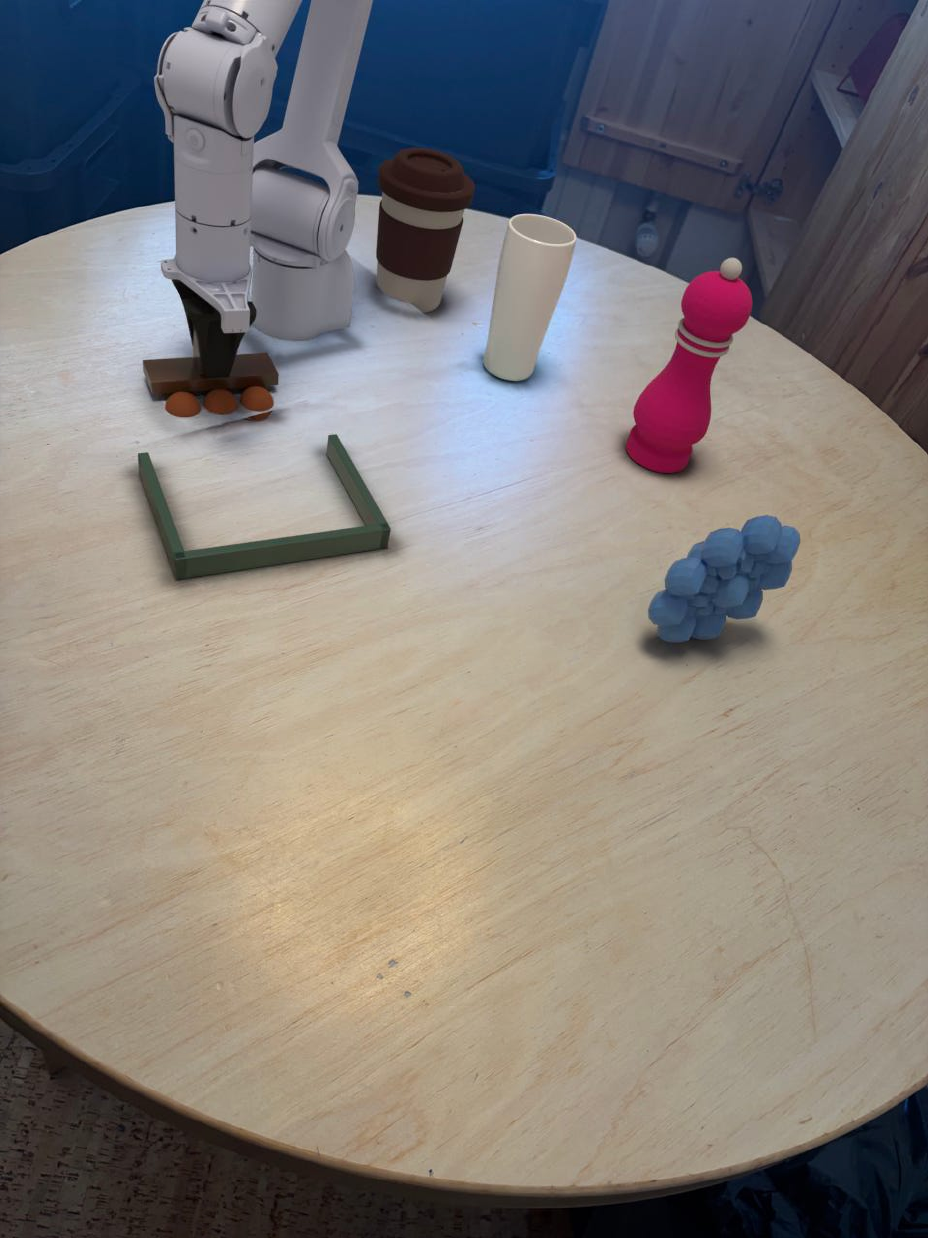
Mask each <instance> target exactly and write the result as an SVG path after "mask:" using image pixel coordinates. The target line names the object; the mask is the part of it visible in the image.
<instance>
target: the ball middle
mask: <svg viewBox="0 0 928 1238" xmlns="http://www.w3.org/2000/svg"><path fill="white" fill-rule="evenodd" d="M202 406H203V408H204V409H205V411H207V412H209V413H211V414H214V415H221V416H222V415H223V416H224V415H229V414H233V413H235V412H236V411H237V410H238V408H239V402H238V400H237V398H236V397H235V394H232V393H231V392H229V391H227V390H224V389H215V390H212V391H210V392H209V393H208V394H207V395H206V396H204V398H203V401H202ZM231 421H232V420H231ZM231 421H226V422H222V423H221V425H225V424H228V423H230V422H231Z"/></svg>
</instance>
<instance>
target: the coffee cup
mask: <svg viewBox="0 0 928 1238" xmlns="http://www.w3.org/2000/svg"><path fill="white" fill-rule="evenodd" d="M377 172H378V173H377V186H378V188H379V190H380V191H381V200H380V202H379V203H378V204H379V205H378V218H377V235H376V251H375V253H376V254H375V257H376V260H377V265H376V267H377V268H376V280H375V282H376V286H377V287H378V289H379V290H380V291H381V292H382V293H384V295H386V296H389V297H390V298H392V299H394V300H397V301H401V302H405V303H409V304H411V305H413V307H415V308H416V309H418V310H419V311H420V312H421V313H422V314H426V313H430V312H432V311H434V310H436V309H437V308H438V307H439V306H440V304H441V301H442V296H443V294H444V289H445V285H446V282H447V278H448V275H449V274H450V273H451V271H452V266H453V263H454V259H455V255H456V252H457V248H458V244H459V240H460V236H461V234H462V233H461V232H462V230H463V229H462V228H463V226H464V212H465V210H466V209H467V208H469V207H470V206H471V205H472V203H473V199H474V195H475V189H476V186H475V183H474V181H473V180H472V178H471V177H469V176H468V175H467V174H465V173H464V168H463V165H462V163H460V161H459V160H457V159H456V158H454V157H453V156H451V155H449V154H446V153H445V152H441V151H438V150H435V149H429V148H422V147H410V148H409V147H408V148H403V149H400V150H399V151H398V152H397V153H396V155H395V156H394V157H393V158H390V159H386V160H384V161H383V162H382V163H381V164H380V165H379V167H378V171H377Z"/></svg>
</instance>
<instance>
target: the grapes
mask: <svg viewBox="0 0 928 1238" xmlns="http://www.w3.org/2000/svg"><path fill="white" fill-rule="evenodd" d="M800 544H801V533H800V531H798V529H797V528H796V527H793V526H789V525H783V523H782V522H781V521H780V520H779V518H778V517H777V516H773V515H768V514H766V515H757V516H755V517H751V518H749V519H747V520H746V522H745V523H744V524H743V526H742V528H741V530H740V529H737V528H733V527H725V528H717V529H716V530H713V531H711V532H709V533H708V534H707V536H706V538H705V539H704V541H700V542H697V543H695V544H693V545H692V547H690V549H689V551H688V552H687V555H686V557H685V558H681V559H680V558H679V559H678V560H675V561H673V562H672V563H671V565H670V567H669V568H668V570H667V572H666V574H665V577H664V589H663V590H660V591H657V592H656V593H655V594H654V596H653V597H652V599H651V600H650V602H649V606H648V608H647V617H648V619H649V621H650V622H651V623H652V624H653V625H656V629H657V630H656V631H657V636H658V637H659V638H660V639H661V640H662V641H663V642H667V643H671V644H675V643H685V642H688V641H689V640H690V639H691V638H692V639H696V640H700V641H702V640H704V641H705V640H713V639H717V638H719V637H720V635H721V633H722V631H723V630H724V627H725V625H726V621H727V618H730V619H733V620H746V619H752V618H755V617H756V616H757V614H758V612H759V611H760V609H761V607H762V603H763V601H764V591H769V590H770V591H771V590H778V589H781V588H785V586H786V585H787V583H788V581H789V579H790V577H791V573H792V571H793V560H794V558H795V557H796V555H797V553H798V551H799V547H800Z"/></svg>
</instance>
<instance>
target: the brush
mask: <svg viewBox="0 0 928 1238" xmlns="http://www.w3.org/2000/svg"><path fill="white" fill-rule="evenodd" d="M199 298H202V297H201V296H193V299H199ZM192 350H193V351H192V356H186V357H185V356H183V357H169V358H152V359H151V358H149V359H143V360H142V372H143V375H144V377H145V380H146V382H147V385H148V388H149V390H150V393H151V395H155V397H156V399H157V400H158V401H159V400H167V399H168V398H169V397H170V396H171V395H172V394H174V393H176V392H188V393H190V394H192V395H194V396H195V397H196V398H198V397H199V398H200V397H205V396H206V395H207V394H208V393H209V392H210V391H212V390H215V389H224V390H227V391H229V392H231V393H232V394H233V395H241V394H242V393H243V392H244V391H245V390H246V389H247V388H249V387H253V386H259V387H262V388H264V389H266V390H267V391H268V392H269V393H271V392H272V390H273V389H272V387H273V386H279V380H280V373H279V371H278V370H277V368H276V365H275V364H274V362H273V360H272V358H271V357H270V355H269V353H268V352H255V353H237V354H236V357H235V361H234V364H233V367H232V370H231V373H230V376H229V377H219V378H206V377H205V374H204V372H203V369H202V365H201V361H200V355H199V348H198V342H197V337H196V333H195V329H194V326H193V346H192Z"/></svg>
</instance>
